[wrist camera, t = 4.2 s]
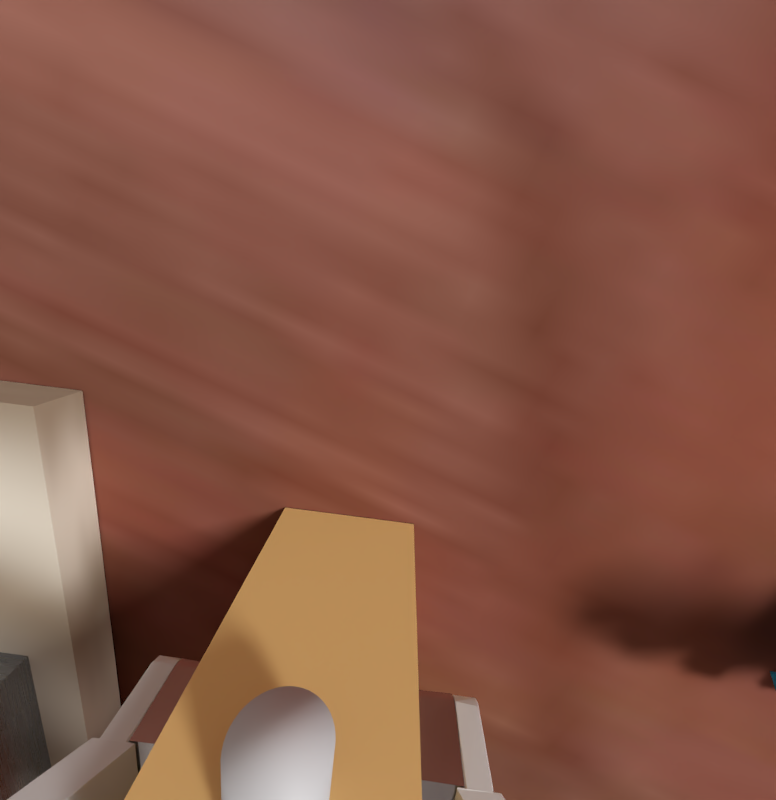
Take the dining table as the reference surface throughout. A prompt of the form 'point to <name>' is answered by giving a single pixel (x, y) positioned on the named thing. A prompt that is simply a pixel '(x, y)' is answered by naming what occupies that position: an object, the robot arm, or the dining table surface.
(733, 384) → the dining table surface
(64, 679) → the board
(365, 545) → the coupler
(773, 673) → the blue toothed wheel
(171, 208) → the dining table surface
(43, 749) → the shaft assembly
